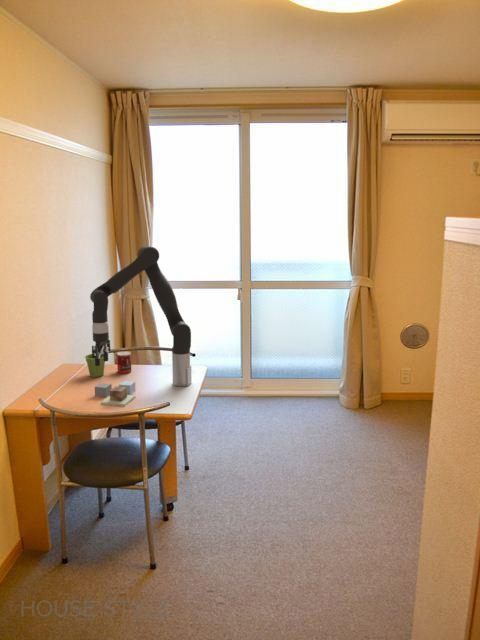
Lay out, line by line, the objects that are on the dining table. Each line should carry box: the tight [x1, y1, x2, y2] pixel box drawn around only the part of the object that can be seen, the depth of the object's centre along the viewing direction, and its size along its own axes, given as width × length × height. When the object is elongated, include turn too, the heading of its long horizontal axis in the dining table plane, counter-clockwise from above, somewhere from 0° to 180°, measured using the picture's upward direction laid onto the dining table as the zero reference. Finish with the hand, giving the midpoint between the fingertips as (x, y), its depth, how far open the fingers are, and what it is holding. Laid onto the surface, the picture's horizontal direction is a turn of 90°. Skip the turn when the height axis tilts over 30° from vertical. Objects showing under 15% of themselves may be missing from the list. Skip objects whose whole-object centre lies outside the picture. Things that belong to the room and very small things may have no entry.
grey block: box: [94, 382, 113, 398], centre depth 253 cm, size 6×6×5 cm
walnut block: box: [109, 385, 127, 401], centre depth 245 cm, size 6×6×5 cm
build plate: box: [100, 394, 136, 407], centre depth 246 cm, size 12×12×1 cm
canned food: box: [116, 350, 132, 375], centre depth 289 cm, size 8×8×11 cm
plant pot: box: [84, 353, 106, 378], centre depth 282 cm, size 12×12×11 cm
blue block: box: [118, 380, 136, 395], centre depth 257 cm, size 6×6×5 cm
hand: (101, 363), depth 251 cm, fingers open, 8 cm apart
